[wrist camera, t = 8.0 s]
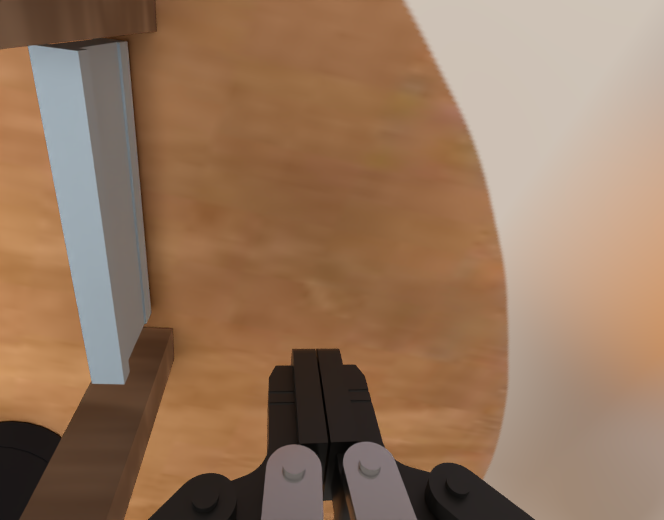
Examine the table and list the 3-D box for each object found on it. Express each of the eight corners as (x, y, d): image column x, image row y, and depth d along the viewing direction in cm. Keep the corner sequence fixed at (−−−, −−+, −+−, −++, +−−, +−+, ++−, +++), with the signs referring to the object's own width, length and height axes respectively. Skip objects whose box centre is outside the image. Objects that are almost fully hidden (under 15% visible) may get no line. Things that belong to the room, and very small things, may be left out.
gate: (155, 312, 24) (124, 384, 20) (129, 311, 24) (92, 383, 19) (132, 41, 18) (77, 51, 13) (96, 37, 17) (27, 44, 13)
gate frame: (175, 358, 27) (102, 597, 16) (122, 356, 26) (7, 602, 15) (155, -40, 17) (-85, -148, 6) (67, -55, 16) (-380, -206, 5)
